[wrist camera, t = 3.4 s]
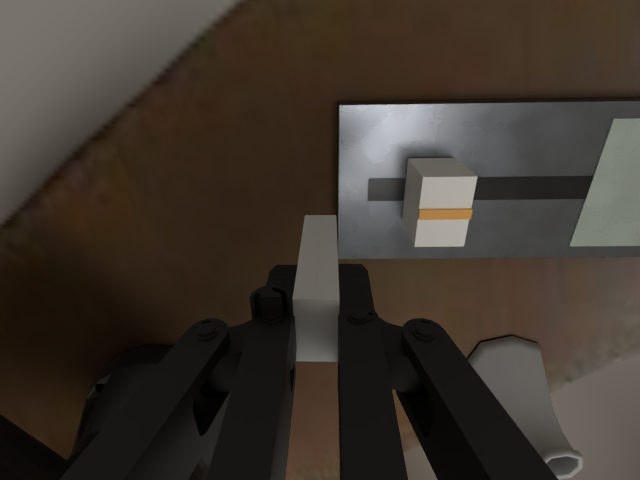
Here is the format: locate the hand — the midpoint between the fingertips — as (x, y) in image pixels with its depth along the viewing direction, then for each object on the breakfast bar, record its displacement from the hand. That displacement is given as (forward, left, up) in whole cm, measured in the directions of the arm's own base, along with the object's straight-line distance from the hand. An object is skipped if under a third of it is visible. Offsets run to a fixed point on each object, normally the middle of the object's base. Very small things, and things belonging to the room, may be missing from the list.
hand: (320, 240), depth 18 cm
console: (+15, 0, -10) cm, 18 cm away
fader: (+7, 0, -8) cm, 10 cm away
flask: (+17, -19, -10) cm, 27 cm away
